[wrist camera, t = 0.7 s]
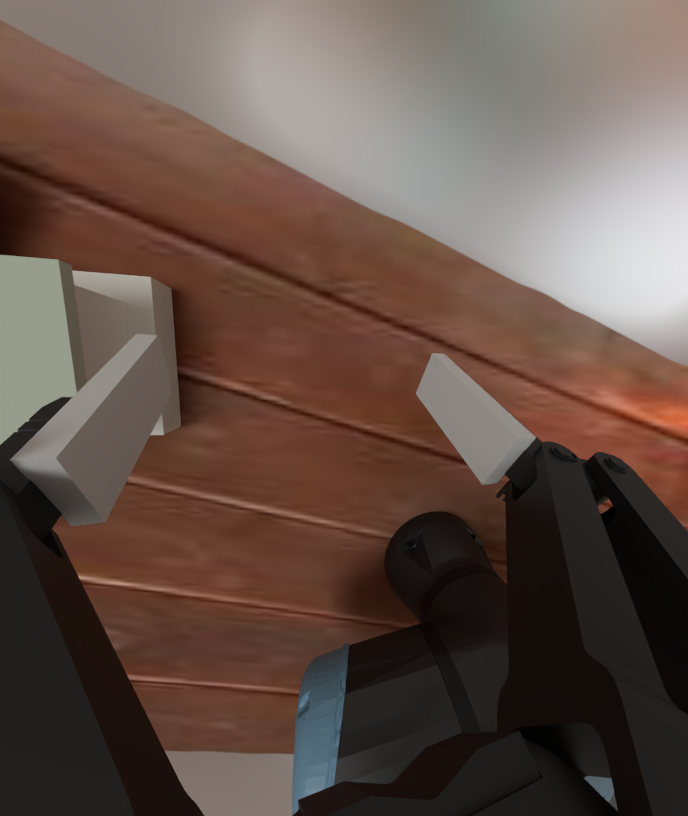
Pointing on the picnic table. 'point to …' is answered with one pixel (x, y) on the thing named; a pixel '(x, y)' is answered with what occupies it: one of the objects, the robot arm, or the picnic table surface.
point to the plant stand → (73, 333)
